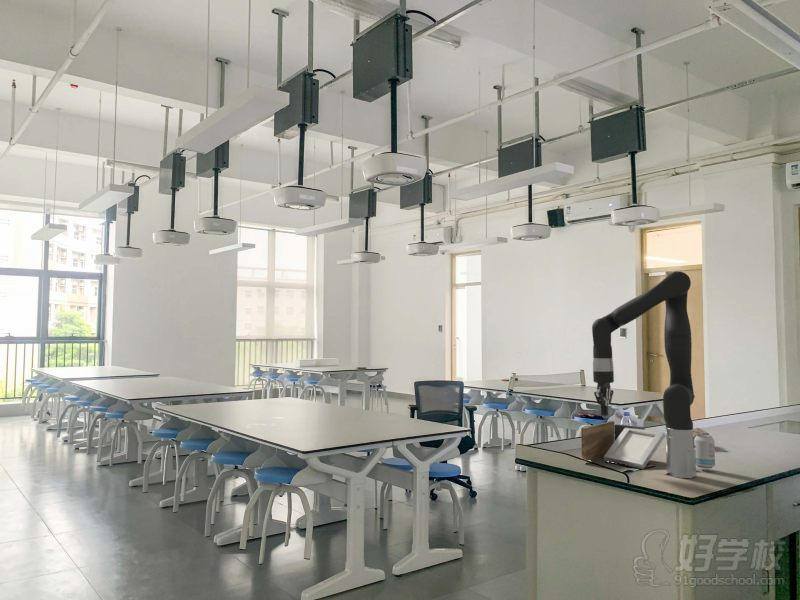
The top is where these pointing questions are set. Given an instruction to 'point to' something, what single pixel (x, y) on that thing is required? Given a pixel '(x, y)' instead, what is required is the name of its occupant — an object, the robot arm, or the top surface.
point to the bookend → (621, 427)
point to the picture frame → (634, 447)
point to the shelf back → (597, 440)
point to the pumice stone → (698, 431)
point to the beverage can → (704, 451)
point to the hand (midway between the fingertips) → (604, 415)
